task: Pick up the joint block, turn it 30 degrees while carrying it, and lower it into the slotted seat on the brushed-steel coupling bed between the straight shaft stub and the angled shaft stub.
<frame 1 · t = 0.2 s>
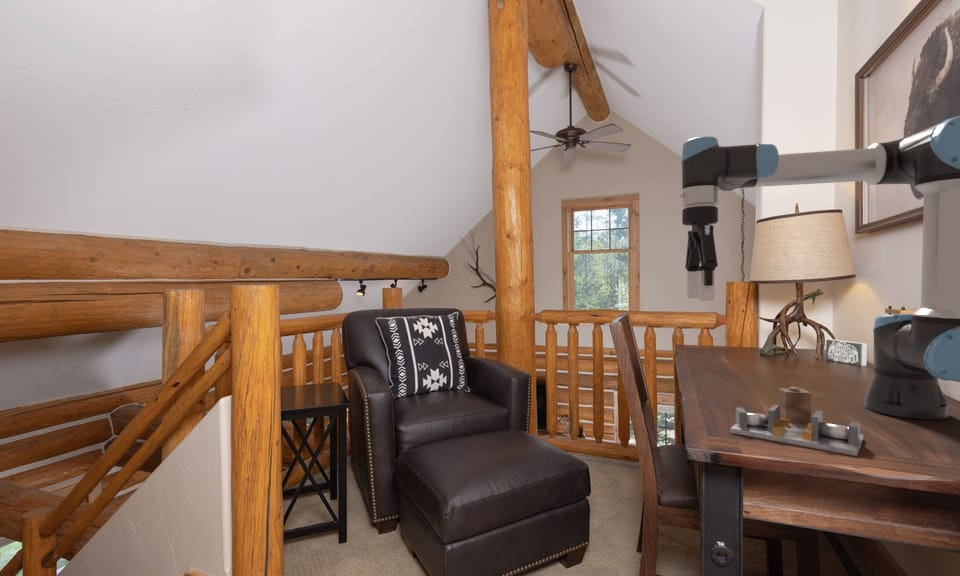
hand: (700, 299, 115), 27 cm above the table, fingers open, 13 cm apart
joint block: (794, 421, 111), on the table
coupling bed: (795, 436, 101), on the table
shaft b: (753, 430, 105), resting on coupling bed
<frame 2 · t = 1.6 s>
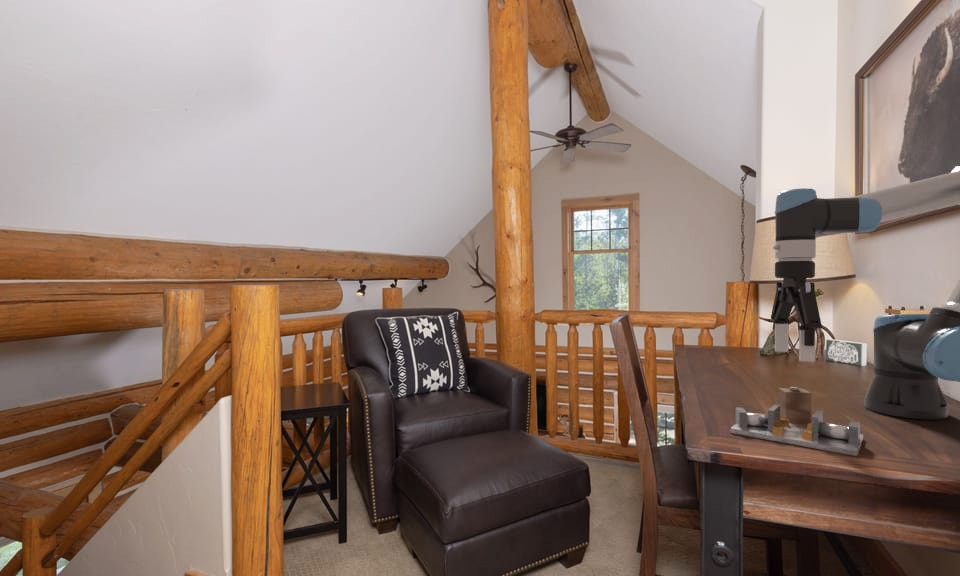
hand: (793, 356, 111), 15 cm above the table, fingers open, 13 cm apart
nothing on the table moved.
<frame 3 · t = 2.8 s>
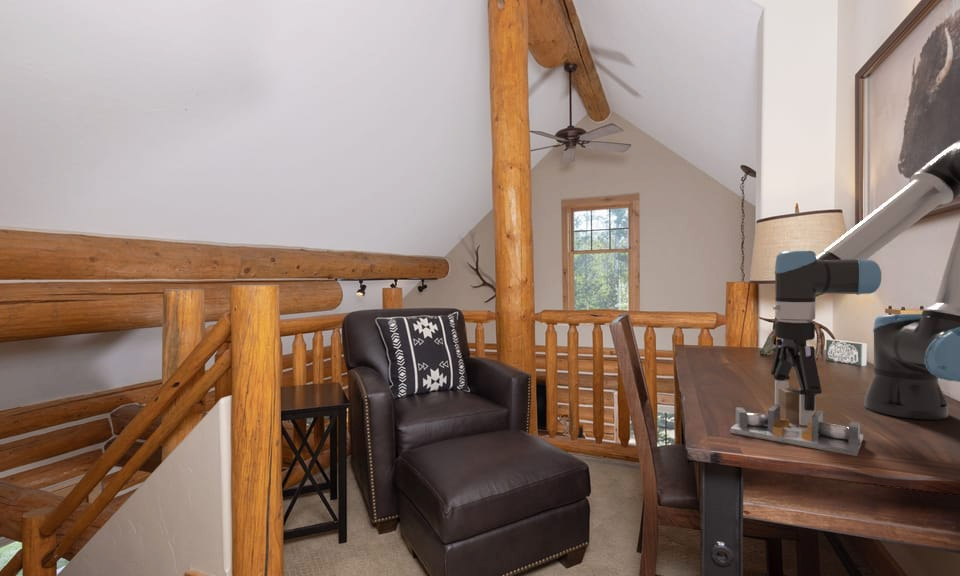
hand: (793, 416, 111), 1 cm above the table, fingers open, 13 cm apart
nothing on the table moved.
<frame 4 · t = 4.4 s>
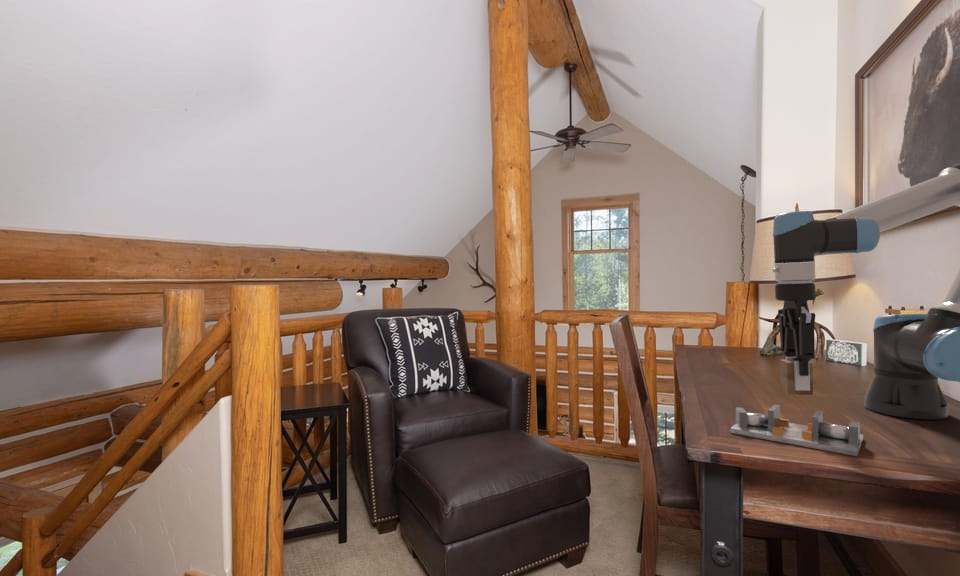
hand: (797, 387, 111), 8 cm above the table, fingers closed on joint block, 4 cm apart
joint block: (796, 392, 111), point 6 cm above the table, touching gripper
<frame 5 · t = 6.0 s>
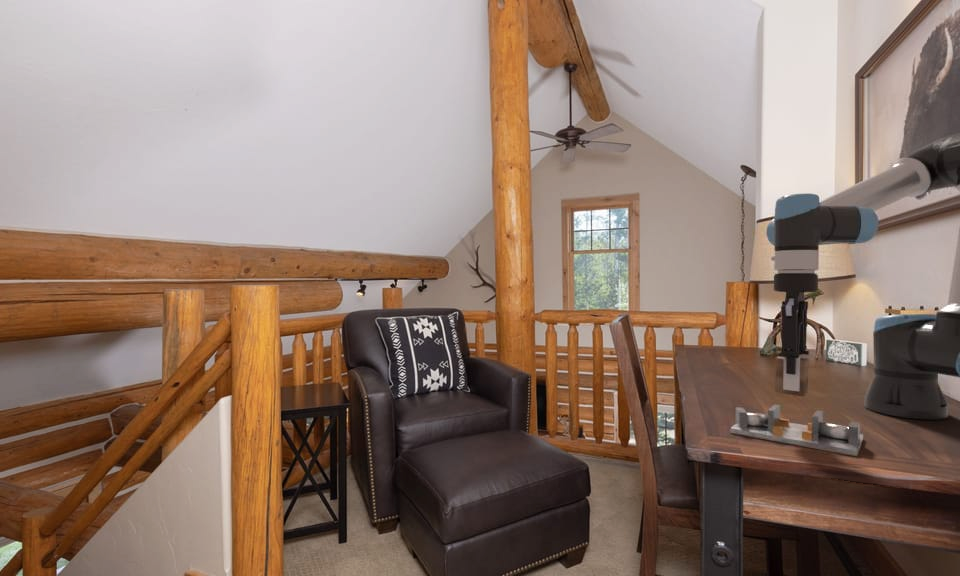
hand: (793, 387, 101), 10 cm above the table, fingers closed on joint block, 4 cm apart
joint block: (791, 392, 101), point 9 cm above the table, touching gripper
when the fingers open (2 cm above the table, at t = 7.5 s): joint block stays where it is, resting on coupling bed.
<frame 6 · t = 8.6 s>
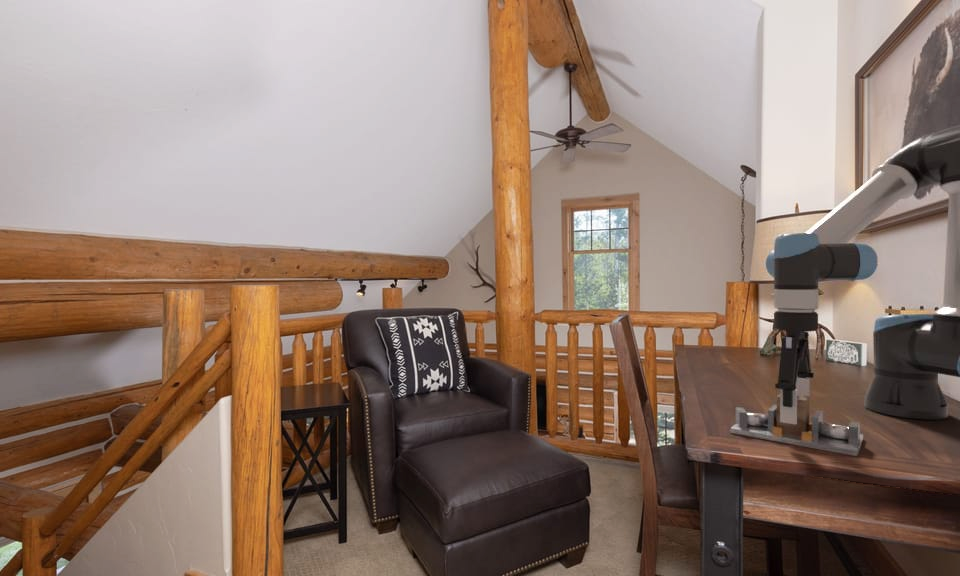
hand: (795, 415, 101), 4 cm above the table, fingers open, 13 cm apart
joint block: (792, 430, 101), point 1 cm above the table, touching coupling bed
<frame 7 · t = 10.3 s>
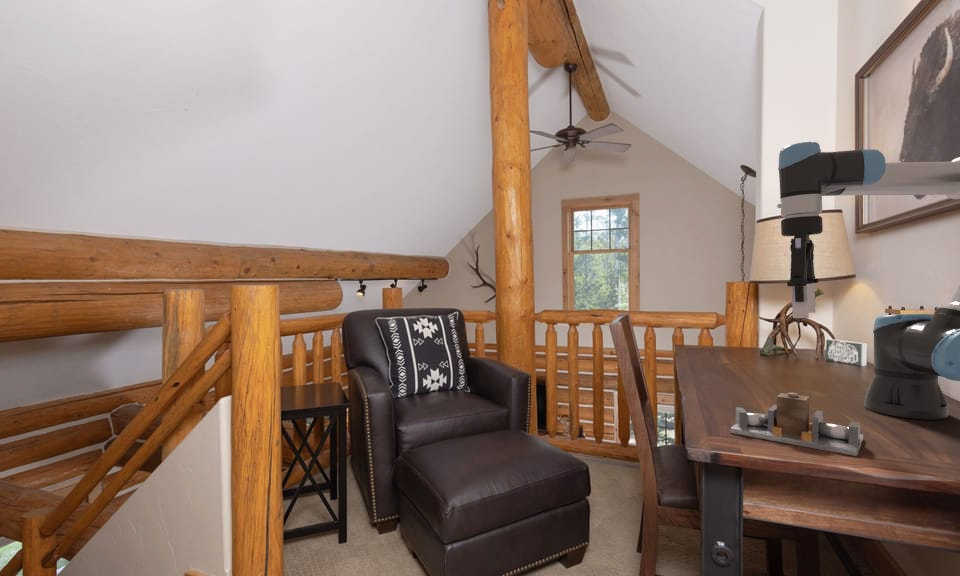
hand: (804, 315, 108), 24 cm above the table, fingers open, 13 cm apart
nothing on the table moved.
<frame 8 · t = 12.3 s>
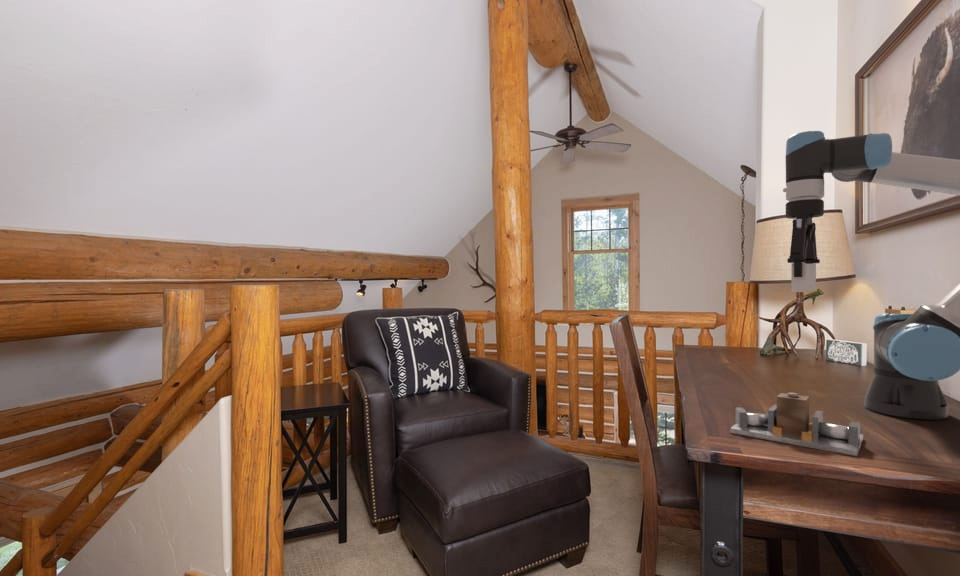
hand: (804, 291, 117), 29 cm above the table, fingers open, 13 cm apart
nothing on the table moved.
at the end: joint block 0.4 cm off-centre on the coupling bed, point 1.0 cm above the coupling bed's base; joint block tilted 0°; the gripper is holding nothing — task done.
